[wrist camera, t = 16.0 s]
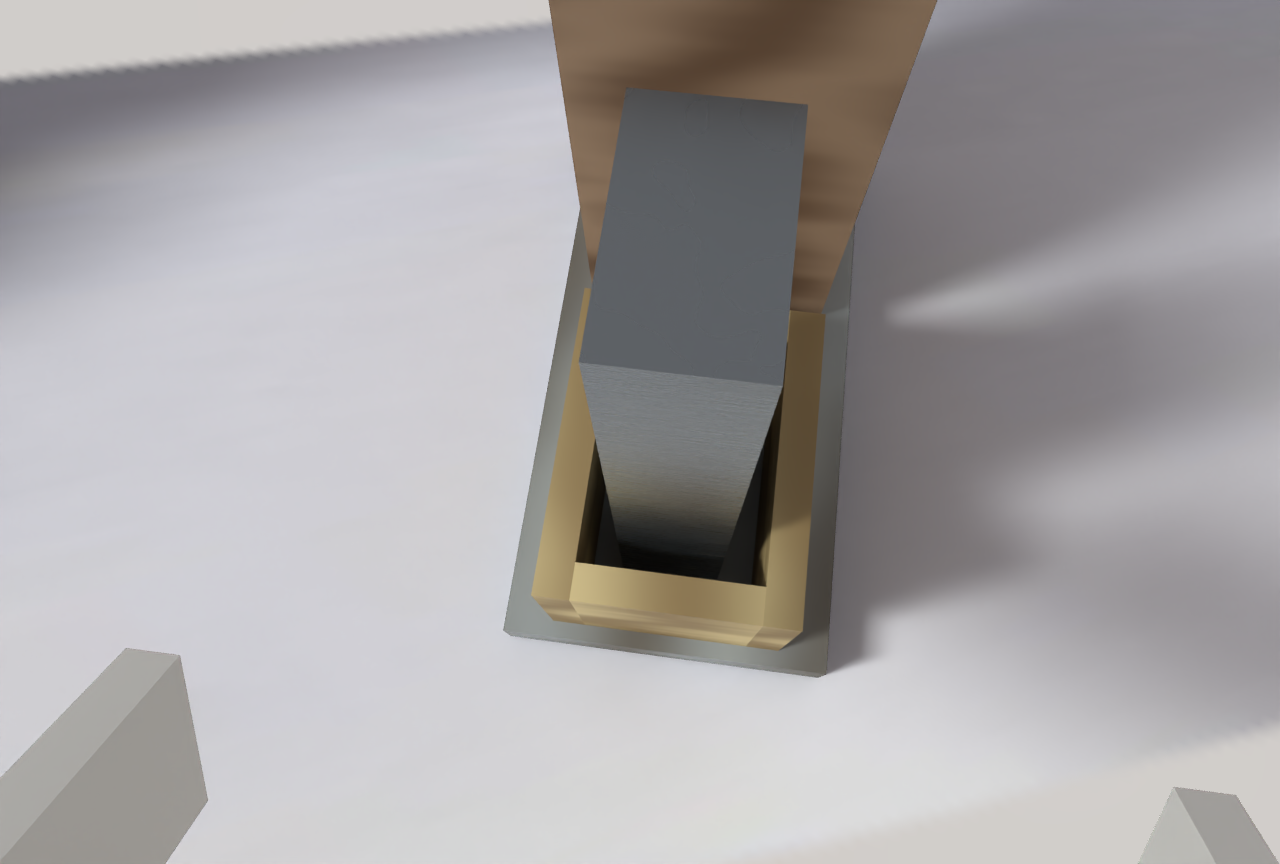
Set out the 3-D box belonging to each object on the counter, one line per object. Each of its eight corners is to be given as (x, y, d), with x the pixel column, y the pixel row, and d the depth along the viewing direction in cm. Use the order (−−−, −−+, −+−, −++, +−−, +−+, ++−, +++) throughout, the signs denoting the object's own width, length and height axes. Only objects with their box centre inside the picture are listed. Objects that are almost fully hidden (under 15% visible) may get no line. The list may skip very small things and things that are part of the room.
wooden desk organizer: (511, 635, 29) (18, 284, 7) (601, 131, 35) (500, -889, 13) (818, 677, 28) (1382, 439, 6) (852, 155, 35) (1187, -875, 13)
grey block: (623, 567, 28) (578, 361, 13) (644, 420, 30) (626, 87, 15) (717, 579, 28) (782, 386, 13) (733, 431, 30) (808, 104, 14)
